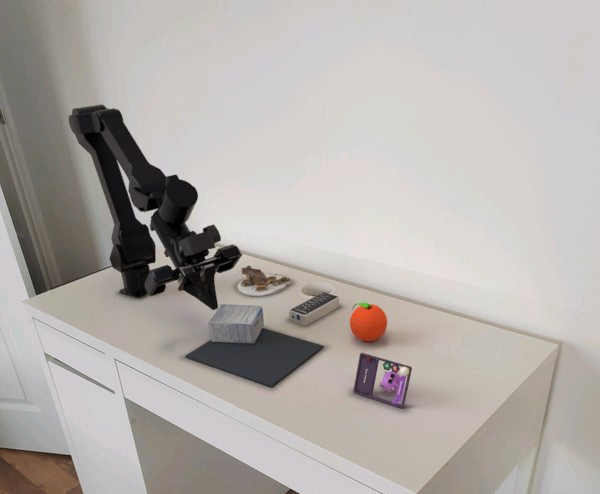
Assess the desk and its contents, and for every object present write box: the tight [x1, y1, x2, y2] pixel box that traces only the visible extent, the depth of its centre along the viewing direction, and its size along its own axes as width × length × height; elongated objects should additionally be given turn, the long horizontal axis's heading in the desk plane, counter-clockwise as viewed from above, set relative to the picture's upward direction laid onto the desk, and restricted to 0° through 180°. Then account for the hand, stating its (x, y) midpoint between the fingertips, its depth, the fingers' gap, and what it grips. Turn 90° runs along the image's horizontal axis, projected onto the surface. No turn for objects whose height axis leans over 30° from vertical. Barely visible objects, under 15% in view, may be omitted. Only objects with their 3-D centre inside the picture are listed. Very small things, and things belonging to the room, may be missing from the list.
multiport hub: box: [288, 291, 340, 327], centre depth 125 cm, size 4×11×2 cm, turn 138°
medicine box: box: [208, 303, 265, 344], centre depth 118 cm, size 8×4×9 cm
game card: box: [352, 352, 413, 409], centre depth 99 cm, size 7×5×9 cm
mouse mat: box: [184, 327, 325, 388], centre depth 113 cm, size 20×16×1 cm
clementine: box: [349, 302, 388, 343], centre depth 114 cm, size 8×7×7 cm
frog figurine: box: [237, 265, 292, 297], centre depth 139 cm, size 12×12×4 cm
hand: (215, 308), depth 114 cm, fingers closed
